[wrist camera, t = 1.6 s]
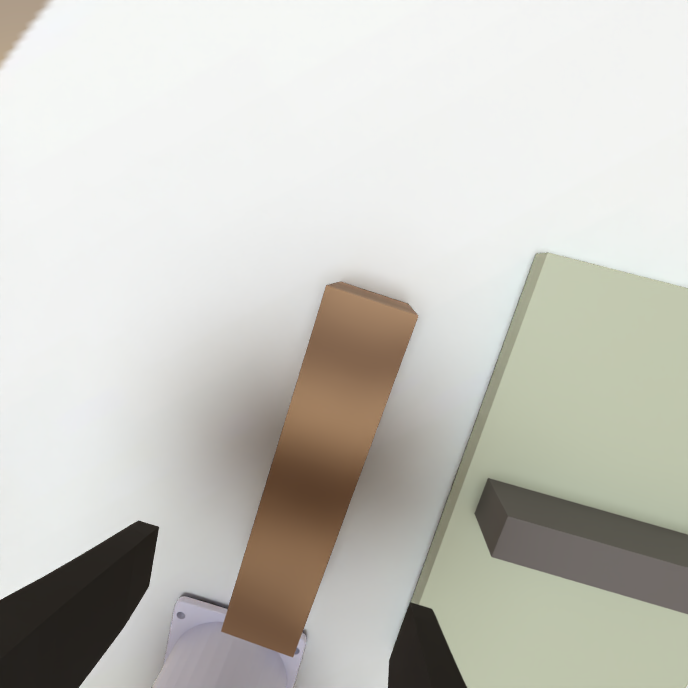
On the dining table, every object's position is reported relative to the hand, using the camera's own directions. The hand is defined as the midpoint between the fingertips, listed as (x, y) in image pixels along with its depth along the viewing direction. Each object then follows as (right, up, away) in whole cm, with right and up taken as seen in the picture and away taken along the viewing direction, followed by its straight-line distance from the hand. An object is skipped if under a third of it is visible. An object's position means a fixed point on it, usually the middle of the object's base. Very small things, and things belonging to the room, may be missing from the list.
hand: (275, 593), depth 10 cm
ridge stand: (+14, -2, +9) cm, 17 cm away
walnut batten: (+1, +2, +9) cm, 10 cm away
